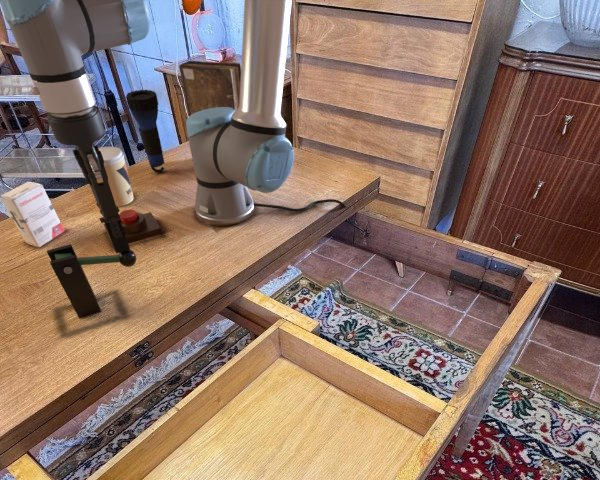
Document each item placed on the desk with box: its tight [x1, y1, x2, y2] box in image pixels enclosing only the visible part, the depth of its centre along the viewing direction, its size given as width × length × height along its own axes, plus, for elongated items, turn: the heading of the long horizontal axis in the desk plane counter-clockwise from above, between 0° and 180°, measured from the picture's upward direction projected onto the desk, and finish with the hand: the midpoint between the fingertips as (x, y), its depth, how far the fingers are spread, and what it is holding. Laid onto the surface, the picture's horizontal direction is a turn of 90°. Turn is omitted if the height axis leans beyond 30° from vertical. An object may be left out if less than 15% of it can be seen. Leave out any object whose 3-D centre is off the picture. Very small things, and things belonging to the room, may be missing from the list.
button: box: [119, 209, 138, 224], centre depth 106 cm, size 4×4×2 cm
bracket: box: [46, 243, 102, 319], centre depth 85 cm, size 12×9×14 cm
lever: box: [55, 249, 137, 268], centre depth 84 cm, size 14×3×3 cm, turn 118°
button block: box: [103, 211, 163, 246], centre depth 108 cm, size 12×9×4 cm
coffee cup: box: [98, 146, 134, 207], centre depth 117 cm, size 9×9×12 cm
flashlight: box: [125, 89, 165, 174], centre depth 124 cm, size 8×8×20 cm
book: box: [178, 60, 241, 117], centre depth 126 cm, size 17×7×25 cm, turn 65°
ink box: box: [0, 181, 65, 248], centre depth 105 cm, size 9×5×12 cm, turn 152°
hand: (122, 249), depth 85 cm, fingers closed
